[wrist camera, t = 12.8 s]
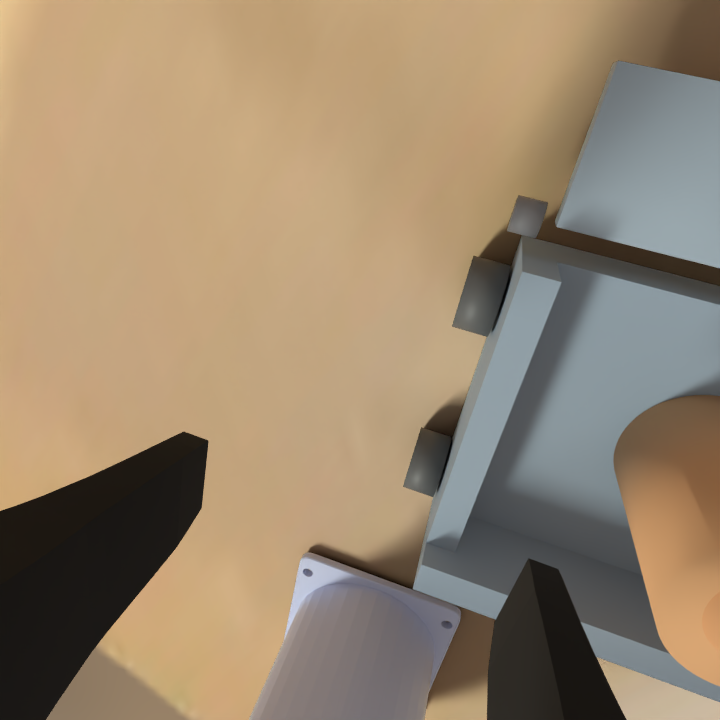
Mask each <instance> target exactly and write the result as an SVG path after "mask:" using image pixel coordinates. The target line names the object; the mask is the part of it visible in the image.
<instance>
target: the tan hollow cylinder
mask: <svg viewBox="0 0 720 720" xmlns="http://www.w3.org/2000/svg"><path fill="white" fill-rule="evenodd" d="M613 463H614V471H615V474H616V478H617V482H618V485H619V489H620V493H621V497H622V500H623V504H624V508H625V512H626V515H627V519H628V523H629V527H630V530H631V534H632V538H633V542H634V545H635V549H636V553H637V557H638V560H639V564H640V568H641V572H642V575H643V579H644V583H645V586H646V590H647V594H648V598H649V601H650V605H651V609H652V613H653V616H654V620H655V624H656V628H657V631H658V634H659V637H660V639H661V641H662V643H663V645H664V646H665V648H666V649H667V651H668V652H669V653H670V655H671V656H672V657H673V658H674V659H675V660H676V661H677V662H678V663H680V664H681V665H682V666H683V667H685V668H686V669H687V670H688V671H690V672H692V673H693V674H695V675H696V676H698V677H700V678H702V679H704V680H706V681H708V682H710V683H712V684H715V685H717V686H720V396H714V395H692V396H684V397H679V398H674V399H671V400H668V401H665V402H662V403H660V404H657V405H655V406H653V407H651V408H649V409H648V410H646V411H644V412H643V413H641V414H640V415H639V416H637V417H636V418H635V419H634V420H633V421H632V422H631V423H630V424H629V425H628V426H627V427H626V428H625V430H624V431H623V432H622V434H621V436H620V437H619V439H618V442H617V444H616V447H615V451H614V460H613Z"/></svg>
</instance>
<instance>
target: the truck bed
mask: <svg viewBox="0 0 720 720" xmlns="http://www.w3.org/2000/svg"><path fill="white" fill-rule="evenodd" d="M547 204H548V202H544V201H540V200H536V199H532V198H528V197H524V196H520V195H518V198H517V200H516V203H515V206H514V209H513V212H512V215H511V218H510V222H509V225H508V229H507V231H509V232H513V233H516V234H520V235H522V236H521V239H520V242H519V245H518V248H517V251H516V254H515V257H514V260H513V262H512V265H511V268H510V265H507V264H503V263H499V262H495V261H492V260H488V259H484V258H480V257H477V256H473V259H472V263H471V266H470V269H469V272H468V276H467V279H466V282H465V285H464V289H463V292H462V295H461V298H460V302H459V305H458V308H457V312H456V315H455V318H454V322H453V325H452V327H455V328H459V329H462V330H466V331H469V332H473V333H476V334H480V335H483V336H487V338H486V341H485V344H484V347H483V350H482V353H481V356H480V359H479V362H478V365H477V368H476V370H475V373H474V376H473V379H472V382H471V385H470V388H469V391H468V394H467V397H466V400H465V403H464V405H463V408H462V411H461V414H460V417H459V420H458V423H457V426H456V429H455V432H454V435H453V438H452V440H451V437H449V436H446V435H443V434H440V433H437V432H434V431H431V430H428V429H425V428H421V430H420V433H419V436H418V440H417V443H416V446H415V449H414V453H413V456H412V459H411V462H410V466H409V469H408V472H407V476H406V479H405V482H404V485H403V487H405V488H408V489H411V490H414V491H417V492H420V493H423V494H426V495H429V496H432V497H433V500H432V505H431V509H430V514H429V518H428V523H427V527H426V532H425V536H424V541H423V545H422V549H421V554H420V558H419V563H418V567H417V572H416V576H415V581H414V585H413V589H414V590H416V591H419V592H422V593H425V594H427V595H430V596H433V597H435V598H438V599H441V600H444V601H446V602H449V603H452V604H454V605H457V606H460V607H463V608H465V609H468V610H471V611H473V612H476V613H479V614H482V615H484V616H487V617H490V618H493V619H495V620H496V618H497V616H498V614H499V613H500V611H501V609H502V607H503V605H504V603H505V601H506V599H507V597H508V596H509V594H510V592H511V590H512V588H513V586H514V584H515V582H516V581H517V579H518V577H519V575H520V573H521V571H522V569H523V567H524V565H525V564H526V562H527V560H528V558H530V559H532V560H535V561H538V562H541V563H543V564H546V565H549V566H551V567H554V568H557V569H559V571H560V573H561V576H562V578H563V580H564V583H565V585H566V588H567V590H568V593H569V595H570V597H571V600H572V602H573V605H574V607H575V610H576V612H577V614H578V617H579V619H580V621H581V624H582V626H583V628H584V631H585V633H586V635H587V638H588V640H589V642H590V645H591V647H592V649H593V651H594V654H595V656H596V657H598V658H601V659H604V660H607V661H609V662H612V663H615V664H617V665H620V666H623V667H626V668H628V669H631V670H634V671H636V672H639V673H642V674H645V675H647V676H650V677H653V678H655V679H658V680H661V681H664V682H666V683H669V684H672V685H674V686H677V687H680V688H683V689H685V690H688V691H691V692H693V693H696V694H699V695H702V696H704V697H707V698H710V699H712V700H715V701H718V702H720V686H717V685H715V684H712V683H710V682H708V681H706V680H704V679H702V678H700V677H698V676H696V675H695V674H693V673H692V672H690V671H688V670H687V669H686V668H685V667H683V666H682V665H681V664H680V663H678V662H677V661H676V660H675V659H674V658H673V657H672V656H671V655H670V653H669V652H668V651H667V649H666V648H665V646H664V645H663V643H662V641H661V639H660V637H659V634H658V631H657V628H656V624H655V620H654V616H653V613H652V609H651V605H650V601H649V598H648V594H647V590H646V586H645V583H644V579H643V575H642V572H641V568H640V564H639V560H638V557H637V553H636V549H635V545H634V542H633V538H632V534H631V530H630V527H629V523H628V519H627V515H626V512H625V508H624V504H623V500H622V497H621V493H620V489H619V485H618V482H617V478H616V474H615V471H614V463H613V460H614V451H615V447H616V444H617V442H618V439H619V437H620V436H621V434H622V432H623V431H624V430H625V428H626V427H627V426H628V425H629V424H630V423H631V422H632V421H633V420H634V419H635V418H636V417H637V416H639V415H640V414H641V413H643V412H644V411H646V410H648V409H649V408H651V407H653V406H655V405H657V404H660V403H662V402H665V401H668V400H671V399H674V398H679V397H684V396H692V395H714V396H720V286H718V285H714V284H710V283H706V282H702V281H698V280H694V279H690V278H687V277H683V276H679V275H675V274H671V273H667V272H663V271H659V270H656V269H652V268H648V267H644V266H640V265H636V264H632V263H628V262H624V261H621V260H617V259H613V258H609V257H605V256H601V255H597V254H593V253H590V252H586V251H582V250H578V249H574V248H570V247H566V246H562V245H559V244H555V243H551V242H547V241H543V240H539V239H535V238H536V237H537V235H538V233H539V230H540V228H541V225H542V222H543V219H544V216H545V213H546V209H547ZM527 236H528V237H527ZM531 237H532V238H531ZM450 442H451V443H450Z"/></svg>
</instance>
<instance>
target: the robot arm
mask: <svg viewBox="0 0 720 720" xmlns="http://www.w3.org/2000/svg"><path fill="white" fill-rule="evenodd" d="M207 450H208V440H205V439H203V438H200V437H197V436H194V435H192V434H189V433H186V432H182V433H180V434H178V435H176V436H174V437H171V438H169V439H167V440H165V441H163V442H161V443H159V444H157V445H155V446H153V447H151V448H149V449H147V450H145V451H142V452H140V453H138V454H136V455H134V456H132V457H130V458H128V459H126V460H124V461H122V462H120V463H117V464H115V465H113V466H111V467H109V468H107V469H104V470H102V471H100V472H98V473H96V474H94V475H91V476H89V477H87V478H85V479H82V480H80V481H77V482H75V483H73V484H70V485H68V486H65V487H63V488H61V489H58V490H56V491H53V492H51V493H49V494H46V495H44V496H41V497H39V498H36V499H33V500H31V501H28V502H25V503H22V504H20V505H17V506H14V507H11V508H8V509H5V510H2V511H0V720H46V719H47V717H48V716H49V714H50V712H51V711H52V709H53V708H54V706H55V705H56V703H57V702H58V700H59V699H60V697H61V696H62V694H63V693H64V691H65V690H66V689H67V687H68V686H69V684H70V683H71V681H72V680H73V678H74V677H75V675H76V674H77V673H78V671H79V670H80V668H81V667H82V665H83V664H84V662H85V661H86V659H87V658H88V657H89V655H90V654H91V652H92V651H93V650H94V648H95V647H96V646H97V644H98V643H99V642H100V640H101V639H102V638H103V637H104V635H105V634H106V633H107V631H108V630H109V629H110V628H111V627H112V625H113V624H114V623H115V622H116V620H117V619H118V618H119V617H120V616H121V614H122V613H123V612H124V611H125V610H126V608H127V607H128V606H129V605H130V604H131V602H132V601H133V600H134V599H135V597H136V596H137V595H138V594H139V593H140V591H141V590H142V589H143V588H144V587H145V585H146V584H147V583H148V582H149V581H150V579H151V578H152V577H153V576H154V574H155V573H156V572H157V571H158V570H159V568H160V567H161V566H162V565H163V563H164V562H165V561H166V560H167V559H168V557H169V556H170V555H171V554H172V552H173V551H174V550H175V549H176V547H177V546H178V544H179V543H180V541H181V540H182V538H183V537H184V535H185V534H186V532H187V531H188V529H189V527H190V526H191V524H192V523H193V521H194V519H195V518H196V516H197V515H198V513H199V511H200V510H201V508H202V498H203V489H204V479H205V469H206V459H207ZM308 569H309V570H308ZM460 618H461V611H460V609H459V608H458V607H457V606H455V605H453V604H450V603H447V602H444V601H442V600H439V599H436V598H434V597H431V596H428V595H425V594H423V593H420V592H417V591H415V590H412V589H409V588H406V587H404V586H401V585H398V584H396V583H393V582H390V581H387V580H385V579H382V578H379V577H377V576H374V575H371V574H368V573H366V572H363V571H360V570H358V569H355V568H352V567H349V566H347V565H344V564H341V563H339V562H336V561H333V560H330V559H328V558H325V557H322V556H320V555H317V554H314V553H310V552H309V553H305V554H303V556H302V558H301V560H300V564H299V569H298V574H297V579H296V584H295V589H294V594H293V598H292V603H291V608H290V613H289V618H288V623H287V628H286V633H285V638H284V642H283V644H282V646H281V649H280V651H279V653H278V655H277V658H276V660H275V662H274V664H273V667H272V669H271V671H270V673H269V676H268V678H267V680H266V682H265V685H264V687H263V689H262V691H261V694H260V696H259V698H258V700H257V703H256V705H255V707H254V709H253V712H252V714H251V716H250V718H249V720H424V719H425V713H426V707H427V700H428V694H429V691H430V689H431V686H432V684H433V682H434V679H435V677H436V675H437V673H438V670H439V668H440V666H441V664H442V661H443V659H444V657H445V654H446V652H447V650H448V648H449V645H450V643H451V641H452V638H453V636H454V634H455V632H456V629H457V627H458V625H459V623H460ZM447 621H449V622H447ZM487 720H626V718H625V716H624V714H623V712H622V710H621V708H620V706H619V704H618V702H617V700H616V698H615V696H614V694H613V692H612V690H611V688H610V686H609V684H608V681H607V679H606V677H605V675H604V673H603V671H602V669H601V666H600V664H599V662H598V660H597V658H596V656H595V654H594V651H593V649H592V647H591V645H590V642H589V640H588V638H587V635H586V633H585V631H584V628H583V626H582V624H581V621H580V619H579V617H578V614H577V612H576V610H575V607H574V605H573V602H572V600H571V597H570V595H569V593H568V590H567V588H566V585H565V583H564V580H563V578H562V576H561V573H560V571H559V569H557V568H554V567H551V566H549V565H546V564H543V563H541V562H538V561H535V560H532V559H530V558H528V560H527V562H526V564H525V565H524V567H523V569H522V571H521V573H520V575H519V577H518V579H517V581H516V582H515V584H514V586H513V588H512V590H511V592H510V594H509V596H508V597H507V599H506V601H505V603H504V605H503V607H502V609H501V611H500V613H499V614H498V616H497V618H496V620H495V623H494V630H493V637H492V644H491V652H490V660H489V669H488V698H487Z"/></svg>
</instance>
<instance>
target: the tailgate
mask: <svg viewBox="0 0 720 720" xmlns="http://www.w3.org/2000/svg"><path fill="white" fill-rule="evenodd" d="M555 224H556V227H558V228H562V229H566V230H570V231H574V232H578V233H582V234H586V235H590V236H594V237H598V238H602V239H606V240H610V241H614V242H618V243H622V244H626V245H630V246H634V247H637V248H641V249H645V250H649V251H653V252H657V253H661V254H665V255H669V256H673V257H677V258H681V259H685V260H689V261H693V262H697V263H701V264H705V265H709V266H713V267H717V268H720V81H716V80H711V79H706V78H701V77H696V76H691V75H686V74H681V73H676V72H672V71H667V70H662V69H657V68H652V67H647V66H642V65H637V64H632V63H627V62H622V61H616V62H614V63H613V65H612V67H611V70H610V73H609V75H608V78H607V81H606V84H605V86H604V89H603V92H602V95H601V97H600V100H599V103H598V105H597V108H596V111H595V114H594V116H593V119H592V122H591V124H590V127H589V130H588V133H587V135H586V138H585V141H584V143H583V146H582V149H581V152H580V154H579V157H578V160H577V162H576V165H575V168H574V171H573V173H572V176H571V179H570V181H569V184H568V187H567V190H566V192H565V195H564V198H563V200H562V203H561V206H560V209H559V211H558V214H557V217H556V219H555Z"/></svg>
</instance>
